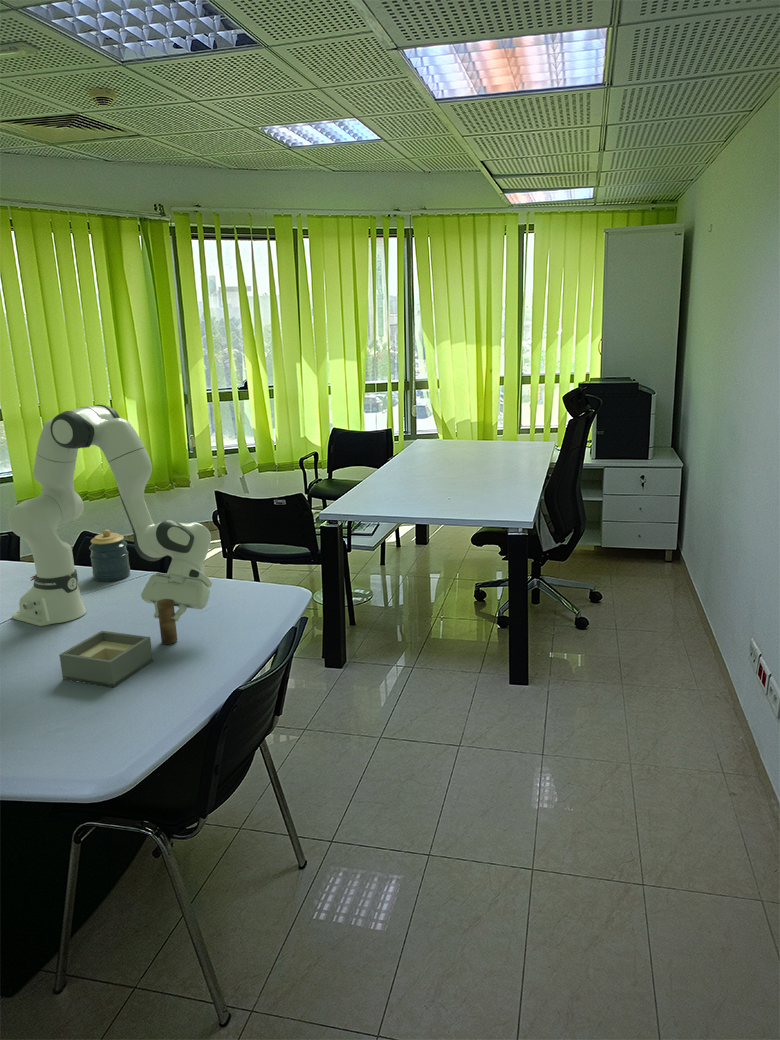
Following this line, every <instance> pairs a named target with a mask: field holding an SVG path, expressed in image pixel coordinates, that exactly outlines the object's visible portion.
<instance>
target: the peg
mask: <svg viewBox="0 0 780 1040" xmlns="http://www.w3.org/2000/svg"><path fill="white" fill-rule="evenodd" d="M157 605H158V614H159V619H158V623H159V632H160V633H159V634H160V640H161V641H160V642H161V643H162V644H165V645H169V644H174V643H176V642H177V641H178V633H177V624H176V623H177V621H173V620H172V619H171V617H172V614H173V613H176V612H175V606H174V602H173V600H172V599H162V600H159V601H158V602H157Z"/></svg>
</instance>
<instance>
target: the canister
mask: <svg viewBox="0 0 780 1040" xmlns="http://www.w3.org/2000/svg"><path fill="white" fill-rule="evenodd" d="M90 543H91V545H90V546H89V547H88V549H89V551H91V552H90V555H89V557H90V562H91V568H92V577H93V579H94V580H95V581H96V582H107V583H108V582H115V581H119V580H123V579H126V578H128V577H129V576H130V575H131V566H130V561H129V551H128V550H127V546H128V542H127V541H125V536H123V535H121V534H120V533H117V532H111V530H110V529H104V530H103V531H102V533H100V534H97V535H95V536H94V537H93V538H92V539H91V540H90Z"/></svg>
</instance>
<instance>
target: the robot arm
mask: <svg viewBox="0 0 780 1040" xmlns="http://www.w3.org/2000/svg"><path fill="white" fill-rule="evenodd" d="M91 446H95V447H98V448H99V449H100V450H101V452H102V453H103V455H104V457H105V459H106V462H107V464H108V465H109V468H110V471H111V473H112V474H113V477H114V480H115V482H116V486H117V490H118V494H119V497H120V500H121V503H122V506H123V509H124V511H125V514H126V516H127V519H128V522H129V524H130V527H131V530H132V533H133V542H134V543H133V545H134V549H135V551H136V553H137V554H138V556H139V557H140V558H141V559H143V560H146V561H149V562H156V561H159V560H162V559H163V558H165V557H166V556H169V557H170V558H171V562H170V564H169V566H168V569H167V572H165V573H162V572H156V573H154V574H152V575H150V577H149V579H148V581H147V582H146V584H145V586H144V587H143V590H142V592H141V595H140V596H141V599H142V600H143V602H146V604H147V603H148V604H154V614H153V617H154V618H155V619H158V620H159V614H158V605H157V602H158V601H159V600H162V599H172V600H173V602H174V607H178V609H177V611H176V612H175V613H173V614H172V617H171V619H172V620H173V621H176V622H178V621H179V620H180V618H181V616H182V615H184V614H185V612H186V611H187V610H188V609H195V610H203V609H205V608H206V606H207V604H208V601H209V598H210V593H211V590H210V588H211V587H212V584H213V582H212V580H211V579H210V578H209V577H208V576H207V575H206V573H205V574H203V573H202V572H200V571H201V565H202V563H203V561H204V562H205V560H206V557H207V555H208V552H209V549H210V546H211V541H212V534H211V532H210V530H209V529H208V527H206V526H205V525H203V524H201V523H199V522H196V521H193V522H179V521H176V520H174V519H167V520H163V521H160V522H158V523H154V521H153V518H152V515H151V514H150V511H149V508H148V506H147V505H148V504H147V503H146V499H145V489H146V486H147V483H148V482H149V479H150V478H151V476H152V473H153V465H152V461H151V458H150V455H149V453H148V451H147V449H146V447H145V445H144V443H143V441H142V439H141V437H140V436H139V434H138V432H137V431H136V430H135V428H134V427H133V426H132V424H131V423H130V422H129V421H128V420H127V419H125V418H123V417H120V415H119V413H118V412H117V410H115V409H114V408H113V407H111V406H109V405H106V404H96V405H87V406H86V405H85V406H80V407H78V408H74V409H71V410H65V411H63V412H61V413H58V414H56V416H54V418H51V419H49V420H47V421H46V422H45V423H44V425H43V428H42V429H41V432H40V435H39V438H38V443H37V447H36V452H35V453H36V454H35V458H34V465H33V473H32V475H33V478H34V480H35V481H36V482H37V483H38V484H40V485H41V488H42V490H41V493H40V495H39V496H35V497H33V498H29V499H25V500H23V501H21V502H20V503H18V504H16V505H14V506H13V507H12V508H10V509H9V511H8V514H7V525H8V527H9V529H10V530H11V531H12V532H13V534H14V535H16V536H18V537H20V538H22V539H23V540H24V541H25V542H26V544H27V545H28V547H29V548H30V551H31V554H32V558H33V562H34V569H35V575H32V576H30V577H29V579H30V582H32V581H33V585H32V587H31V588H30V589H28V590H27V591H26V592H25V593H24V594H23V595H22V596H21V597H20V598H19V601H18V603H19V604H18V607H19V609H18V610H16V611H15V612H14V613H12V615H11V616H12V617H11V618H12V620H13V619H14V620H16V621H20V622H24V623H27V624H30V625H34V626H38V627H45V626H48V625H53V624H61V623H66V622H71V621H74V620H76V619H78V618H81V617H83V616H84V615H86V613H87V609H86V606H85V602H84V601H83V598H82V594H81V591H80V586H79V584H78V581H79V579H78V578H79V577H78V572H77V571H78V570H77V569H75V562H74V555H73V548H72V546H71V545H70V544H69V543H68V542H67V541H63V540H61V538H60V536H59V534H58V529H59V528H61V527H64V526H67V525H69V524H72V523H73V522H75V521H76V520H77V519H79V518H80V517H81V516H82V515H83V512H84V511H85V510H84V508H85V507H84V506H85V505H84V501H83V498H82V497H81V496H80V494H79V493H77V492H76V490H75V485H74V477H75V471H76V463H77V457H78V451H79V449H85V448H90V447H91Z"/></svg>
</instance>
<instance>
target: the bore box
mask: <svg viewBox="0 0 780 1040" xmlns="http://www.w3.org/2000/svg"><path fill="white" fill-rule="evenodd" d="M58 656H59V661H60V669H61V675H62V680H63V679H65V681H70V680H72V681H71V682H76V681H79V682H78V683H82V682H85V683H84V684H88V683H90V684H89V685H94V684H96V685H95V686H100V685H102V687H108V688H112V689H113V688H117V686H118V685H120V684H121V683H123V682H124V681H126V680H127V679H129V678H131V677H132V676H133V675H134V674H136V673H137V672H138V673H139V671H141V670H142V669H144V668H145V667H146V666H148V665H149V664H151V663H153V661H154V659H153V658H154V657H153V649H152V640H151V637H150V636H144V635H139V634H138V635H137V634H130V633H122V632H115V631H106V630H100V631H98V632H96V633H95V634H93V635H91V636H90V637H88V638H87V639H86V638H85V640H82V641H80V642H79V643H78V644H75V645H73V646H72V647H70V648H69V649H67V650H64V651H63V652H61V653H60V654H59V655H58Z"/></svg>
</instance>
